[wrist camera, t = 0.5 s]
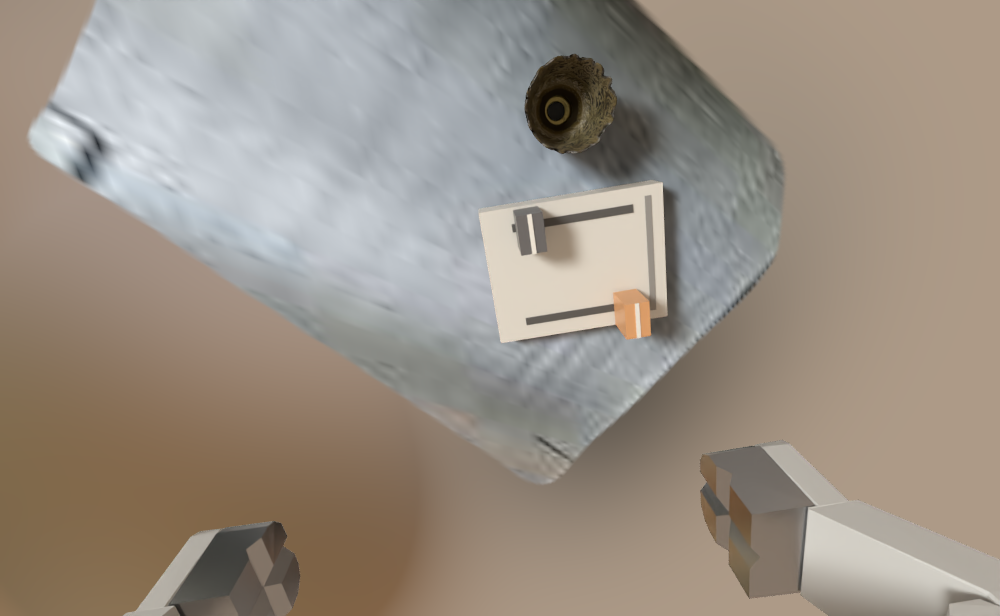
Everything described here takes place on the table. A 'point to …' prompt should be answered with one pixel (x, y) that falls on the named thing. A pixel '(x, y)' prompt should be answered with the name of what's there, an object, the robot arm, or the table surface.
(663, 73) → the table surface
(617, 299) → the fader
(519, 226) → the fader
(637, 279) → the mixer console
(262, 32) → the table surface
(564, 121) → the cup
